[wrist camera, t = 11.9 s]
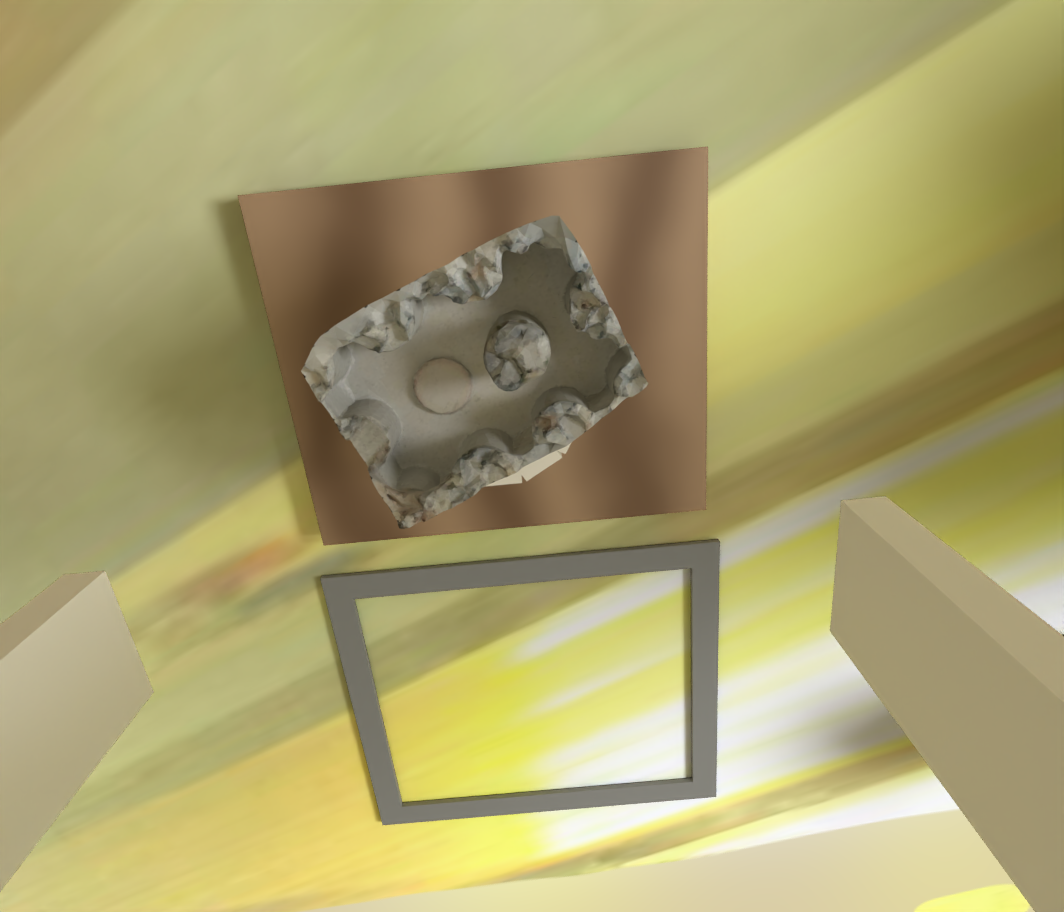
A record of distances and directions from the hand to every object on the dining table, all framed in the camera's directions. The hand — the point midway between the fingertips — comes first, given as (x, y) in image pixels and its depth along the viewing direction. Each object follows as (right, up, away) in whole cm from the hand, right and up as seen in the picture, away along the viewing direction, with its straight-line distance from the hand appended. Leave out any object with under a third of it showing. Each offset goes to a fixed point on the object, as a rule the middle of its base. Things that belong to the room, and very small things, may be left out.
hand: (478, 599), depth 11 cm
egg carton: (-1, +6, +13) cm, 15 cm away
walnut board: (-1, +7, +19) cm, 21 cm away
